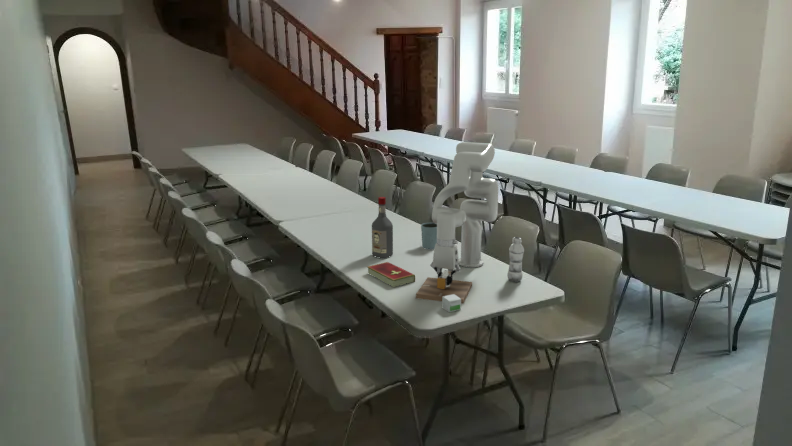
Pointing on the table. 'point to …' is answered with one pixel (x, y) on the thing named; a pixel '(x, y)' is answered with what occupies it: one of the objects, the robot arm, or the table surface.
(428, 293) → the wooden cutting board
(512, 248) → the plastic bottle
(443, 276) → the white and orange box
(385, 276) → the hardcover book
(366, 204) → the table surface
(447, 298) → the small box
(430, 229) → the teal cup
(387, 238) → the liquor
